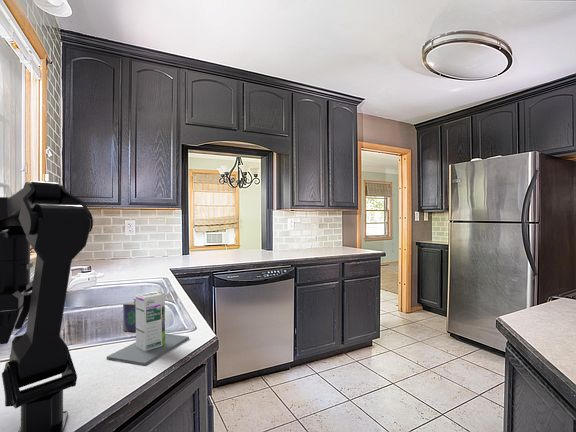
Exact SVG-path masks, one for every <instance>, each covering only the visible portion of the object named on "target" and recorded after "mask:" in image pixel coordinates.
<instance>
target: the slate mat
mask: <svg viewBox="0 0 576 432" xmlns="http://www.w3.org/2000/svg"><path fill="white" fill-rule="evenodd" d="M189 339H190V336H185V335H180V334H179V335H178V334H170V333H165V346H161V347H158V348H155V349H151V350H148V351H146V352H145V351H143V350H141V349H139V348H138V347H137V346H136V341H135V342H133V343H132V344H130V345H129V344H128V345H127V346H125V347H123V348H121V349H119V350H117V351H115V352H113V353H111V354H108V355H107V356H106V360H110V361H116V362H120V363H121V362H123V363H128V364H133V365H139V366H146V365H149V363H151V362H153V361H154V360H157V359H158V358H161V356H163V355H164V354H167V353H168V352H169V351H171V350H173V349H174V348H177V347H178V346H179V345H181V344H183V343H185V342H186V341H188V340H189Z"/></svg>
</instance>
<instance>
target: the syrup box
mask: <svg viewBox="0 0 576 432" xmlns="http://www.w3.org/2000/svg"><path fill="white" fill-rule="evenodd" d="M135 299H136V333H135V342H136V346H137V347H138V348H139V349H141V350H143V351H145V352H146V351H148V350H151V349H155V348H158V347H161V346H165V334H166V300H165V299H166V296H165V293H164V292H161V291H151V292H145V293H141V294H135Z"/></svg>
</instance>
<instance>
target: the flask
mask: <svg viewBox="0 0 576 432" xmlns="http://www.w3.org/2000/svg"><path fill="white" fill-rule="evenodd" d="M133 301H134V302H124V303H123V304H122V308H123V310H122V313H123V315H122V316H123V317H122V321H123V322H122V331H123V332H124V333H130V334H136V298H133Z"/></svg>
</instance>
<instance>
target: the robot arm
mask: <svg viewBox="0 0 576 432" xmlns="http://www.w3.org/2000/svg"><path fill="white" fill-rule="evenodd" d="M93 225H94V218H93V215H92V213H91V211H90V210H89V208H88V207H87V205H86V203H85V202H84V201H83V200H82V199H80V198H79V197H77V196H76V195H74V194H72V193H70V192H69V191H67V190H66V188H65V186H64V185H63V184H59V183H58V182H55V181H52V182H51V181H39V180H38V181H37V180H31V181H26V182H25V183H24V185H23V188H21V189H19V191H17V192H15V193H14V194H12V195H11V196H0V345H6V344H8V343H9V342H10V339H11V336H12V334H13V333H14V330H19V329H20V330H21V329H22V328H23V327H24V325H25V323H26V320H27V324H26V332H25V333H23V334H21V335H16V336H15V337H14V338H13V339H12V341H11V348H10V354H9V360H8V361H7V362H5V366H4V369H3V371H2V372H1V379H2V385H3V391H4V406H5V407H6V408H7V407H13V408H14V409H15V410H16V409H18V408H20V427H19V429H18V432H64V428H65V426H66V422H67V419H68V416H69V411H68V410H64V390H67V389H69V388H73V387H76V385H77V378H78V374H77V373H76V372H77V371H76V368H75V365H74V362H73V359H72V355H71V353H70V350H69V347H68V344H67V343H66V342H65V340H64V339H63V337H62V336H61V329H62V324H63V317H64V310H65V305H66V299H67V293H68V286H69V281H70V280H69V279H70V275H71V274H70V273H71V267H72V261H73V260H74V259H75V258H76V257H77V256H78V254H80V253H81V252H82V250H83V249H85V247H86V246H87V243H88V239H89V235H90V232H92V230H93ZM31 247H32V250H34V252H35V254H36V256H35V257H36V259H35V266H33V265H34V263H33V261H31ZM32 267H34V271H33V272H34V274H33V278H31V268H32ZM59 375H61V376H59ZM56 376H58V377H56ZM53 377H56V378H53ZM50 378H53V379H50ZM47 379H49V380H47ZM44 380H47V381H45V382H41V381H44ZM39 382H41V383H39ZM35 383H38V384H36V385H33V384H35ZM29 385H32V386H30V387H27V386H29ZM23 387H27V388H24V389H22V390H21V389H20V388H23Z"/></svg>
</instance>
